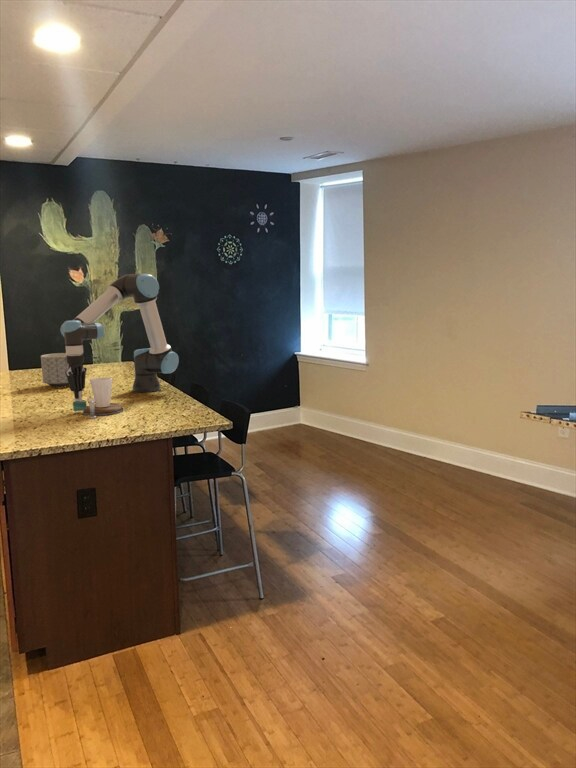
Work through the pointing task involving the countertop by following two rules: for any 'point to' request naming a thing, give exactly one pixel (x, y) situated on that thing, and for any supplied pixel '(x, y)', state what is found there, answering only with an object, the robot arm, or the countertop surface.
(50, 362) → the planter
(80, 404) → the brown and teal disc
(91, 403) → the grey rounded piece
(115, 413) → the base
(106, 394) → the cup
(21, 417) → the countertop surface
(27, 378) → the countertop surface
